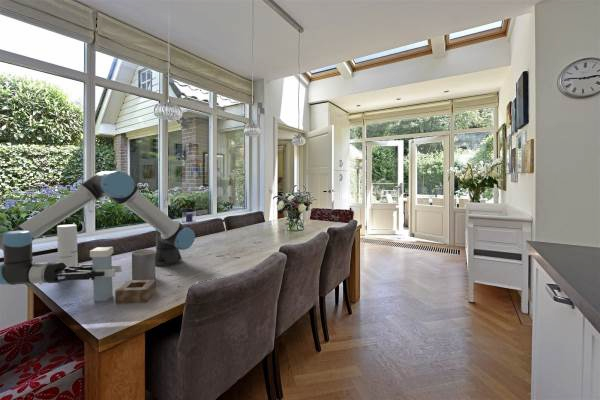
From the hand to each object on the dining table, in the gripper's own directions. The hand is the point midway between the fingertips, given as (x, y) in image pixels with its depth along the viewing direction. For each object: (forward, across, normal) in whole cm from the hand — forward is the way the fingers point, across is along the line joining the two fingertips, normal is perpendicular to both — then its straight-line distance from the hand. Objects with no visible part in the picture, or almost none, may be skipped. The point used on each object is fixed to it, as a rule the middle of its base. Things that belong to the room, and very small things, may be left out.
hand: (117, 270), depth 111 cm
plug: (-5, 0, -12) cm, 13 cm away
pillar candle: (+2, -22, -12) cm, 26 cm away
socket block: (+7, 0, -12) cm, 14 cm away
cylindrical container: (-34, -31, -12) cm, 47 cm away
